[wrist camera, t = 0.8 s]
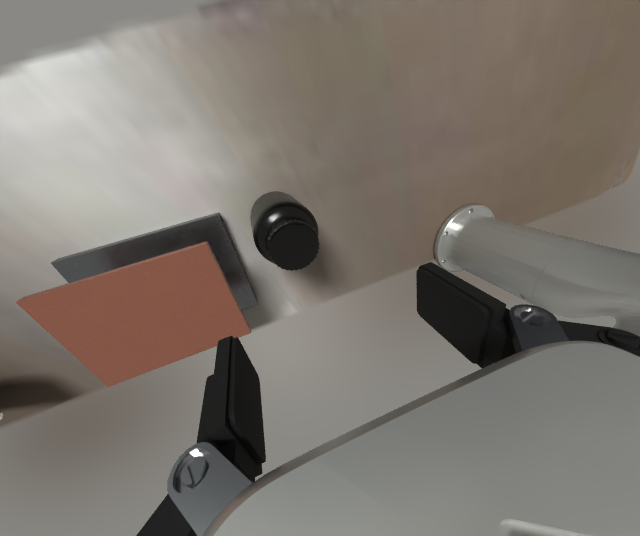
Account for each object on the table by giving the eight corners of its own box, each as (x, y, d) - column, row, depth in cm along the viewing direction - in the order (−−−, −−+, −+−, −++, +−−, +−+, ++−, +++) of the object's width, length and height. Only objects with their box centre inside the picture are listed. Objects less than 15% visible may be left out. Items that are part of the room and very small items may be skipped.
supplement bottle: (295, 244, 34) (320, 283, 24) (246, 237, 31) (250, 277, 21) (306, 197, 32) (338, 217, 21) (254, 185, 29) (262, 201, 19)
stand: (218, 212, 29) (212, 230, 22) (257, 300, 36) (261, 335, 29) (58, 258, 26) (-9, 296, 19) (133, 344, 33) (104, 396, 26)
